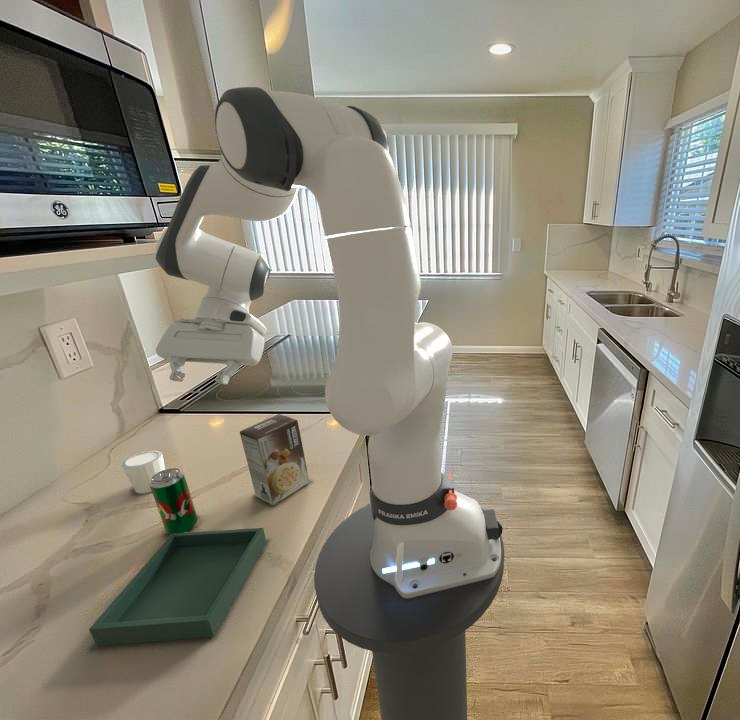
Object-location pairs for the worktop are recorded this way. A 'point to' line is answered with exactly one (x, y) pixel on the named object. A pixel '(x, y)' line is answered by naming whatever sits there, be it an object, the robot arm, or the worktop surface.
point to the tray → (182, 588)
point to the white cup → (143, 469)
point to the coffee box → (275, 458)
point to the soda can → (173, 501)
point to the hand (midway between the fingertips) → (198, 382)
